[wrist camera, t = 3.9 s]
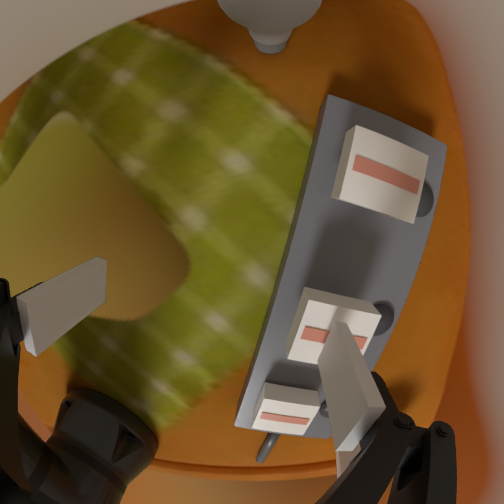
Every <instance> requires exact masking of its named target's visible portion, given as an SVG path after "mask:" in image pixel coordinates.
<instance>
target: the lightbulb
mask: <svg viewBox="0 0 504 504" xmlns="http://www.w3.org/2000/svg"><path fill="white" fill-rule="evenodd" d="M217 1H218V4H219V6H220V7H221V9H222V10H223V11H224V12H225V13H226V15H227V16H228V17H229V18H231V19H232V20H233V21H235V22H236V23H238V24H240V25H242V26H244V27H246V28H248V31H249V34H250V36H251V37H252V38H253V40H254V43H255V46H256V48H257V49H258V50H259V51H261V52H263V53H267V54H275V53H278V52H281V51H282V50H283V49H284V48H285V46H286V44H287V39H288V38H289V37H290V36H291V33H292V30H293V29H294V28H296V27H298V26H300V25H301V24H303V23H305V22H307V21H308V20H309V19H310V18H312V17H313V16H314V14H315V13H316V12H317V10H318V9H319V8H320V6H321V2H322V0H217Z"/></svg>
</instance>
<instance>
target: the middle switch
mask: <svg viewBox="0 0 504 504" xmlns="http://www.w3.org/2000/svg"><path fill="white" fill-rule="evenodd" d="M381 316H382V315H381V314H380V313H379V312H378V310H377V309H376V308H375V307H374V305H373V304H372V303H371V302H368V301H364V300H360V299H355V298H351V297H346V296H342V295H338V294H334V293H329V292H325V291H321V290H317V289H312V288H308V287H304V290H303V293H302V296H301V299H300V302H299V305H298V308H297V311H296V314H295V317H294V320H293V323H292V326H291V328H290V331H289V334H288V337H287V340H286V350H287V359H290V360H295V361H301V362H306V363H312V364H318V362H317V360H318V358H319V356H320V353H321V351H322V349H323V346H324V344H325V342H326V339H327V337H328V335H329V332H330V330H331V327H332V325H333V322H334V321H338V322H343V323H347V325H348V327H349V329H350V331H351V333H352V335H353V337H354V339H355V341H356V343H357V345H358V347H359V349H360V351H361V353H362V355H364V353H365V351H366V349H367V346H368V344H369V342H370V340H371V338H372V336H373V334H374V332H375V329H376V327H377V325H378V323H379V320H380V318H381Z"/></svg>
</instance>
